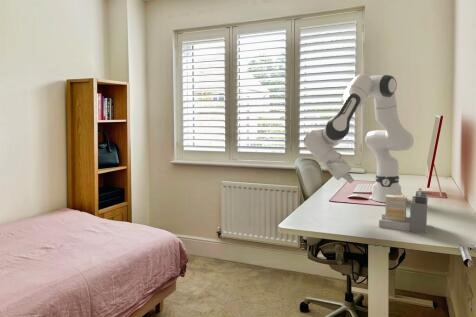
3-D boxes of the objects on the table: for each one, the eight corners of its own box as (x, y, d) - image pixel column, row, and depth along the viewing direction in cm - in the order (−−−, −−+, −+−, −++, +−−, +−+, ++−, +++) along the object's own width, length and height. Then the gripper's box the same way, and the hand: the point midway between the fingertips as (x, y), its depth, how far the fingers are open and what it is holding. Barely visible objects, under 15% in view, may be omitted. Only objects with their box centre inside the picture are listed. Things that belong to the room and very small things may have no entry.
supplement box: (406, 225, 162) (407, 195, 161) (405, 228, 158) (406, 197, 156) (385, 222, 166) (386, 193, 164) (384, 225, 162) (385, 196, 160)
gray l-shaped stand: (382, 219, 171) (383, 184, 169) (426, 224, 163) (428, 188, 161) (378, 227, 159) (379, 190, 157) (425, 233, 150) (427, 194, 148)
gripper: (330, 157, 161) (353, 181, 158) (340, 152, 179) (361, 173, 176) (320, 167, 164) (342, 191, 161) (331, 161, 182) (351, 182, 179)
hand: (352, 182), depth 169 cm, fingers closed
